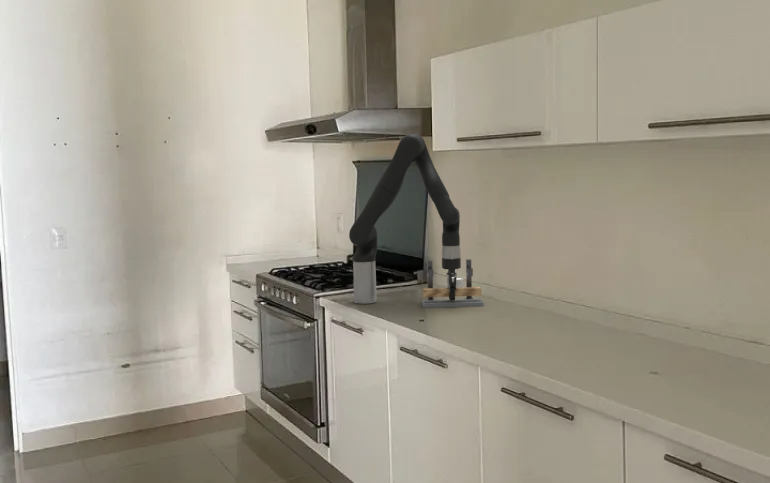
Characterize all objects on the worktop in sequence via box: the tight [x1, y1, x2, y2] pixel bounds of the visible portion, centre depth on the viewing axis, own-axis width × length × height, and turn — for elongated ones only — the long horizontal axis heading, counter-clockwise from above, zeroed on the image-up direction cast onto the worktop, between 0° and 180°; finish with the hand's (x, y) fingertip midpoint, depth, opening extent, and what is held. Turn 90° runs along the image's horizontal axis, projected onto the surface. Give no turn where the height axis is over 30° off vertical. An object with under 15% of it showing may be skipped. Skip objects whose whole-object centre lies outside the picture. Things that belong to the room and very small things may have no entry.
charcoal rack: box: [426, 258, 474, 300], centre depth 312 cm, size 19×6×17 cm, turn 90°
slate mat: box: [421, 298, 484, 309], centre depth 305 cm, size 24×8×2 cm, turn 90°
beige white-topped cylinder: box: [456, 277, 465, 288], centre depth 329 cm, size 7×7×7 cm
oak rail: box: [422, 286, 482, 298], centre depth 305 cm, size 23×3×3 cm, turn 90°
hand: (451, 299), depth 305 cm, fingers closed on oak rail, 3 cm apart
